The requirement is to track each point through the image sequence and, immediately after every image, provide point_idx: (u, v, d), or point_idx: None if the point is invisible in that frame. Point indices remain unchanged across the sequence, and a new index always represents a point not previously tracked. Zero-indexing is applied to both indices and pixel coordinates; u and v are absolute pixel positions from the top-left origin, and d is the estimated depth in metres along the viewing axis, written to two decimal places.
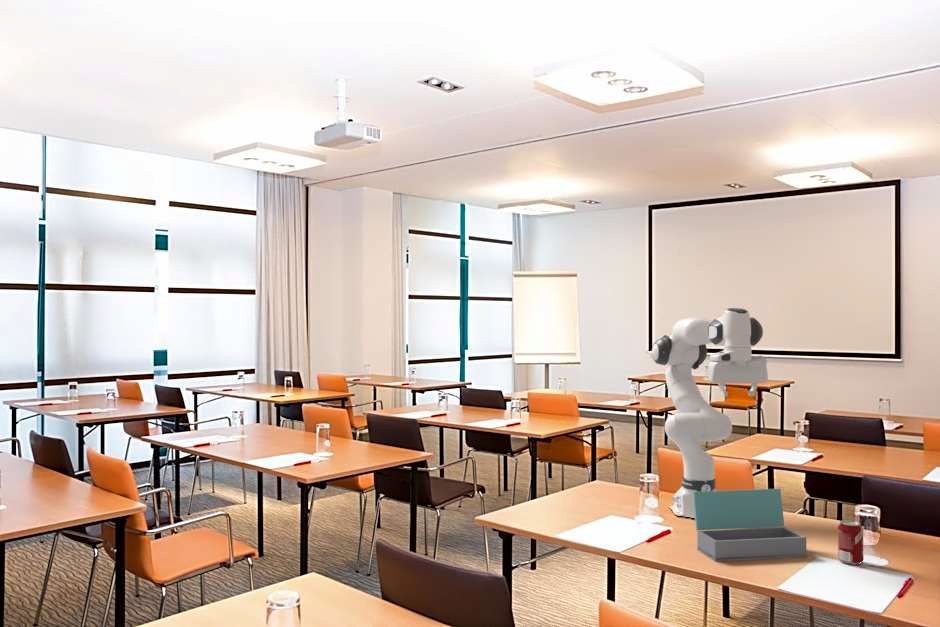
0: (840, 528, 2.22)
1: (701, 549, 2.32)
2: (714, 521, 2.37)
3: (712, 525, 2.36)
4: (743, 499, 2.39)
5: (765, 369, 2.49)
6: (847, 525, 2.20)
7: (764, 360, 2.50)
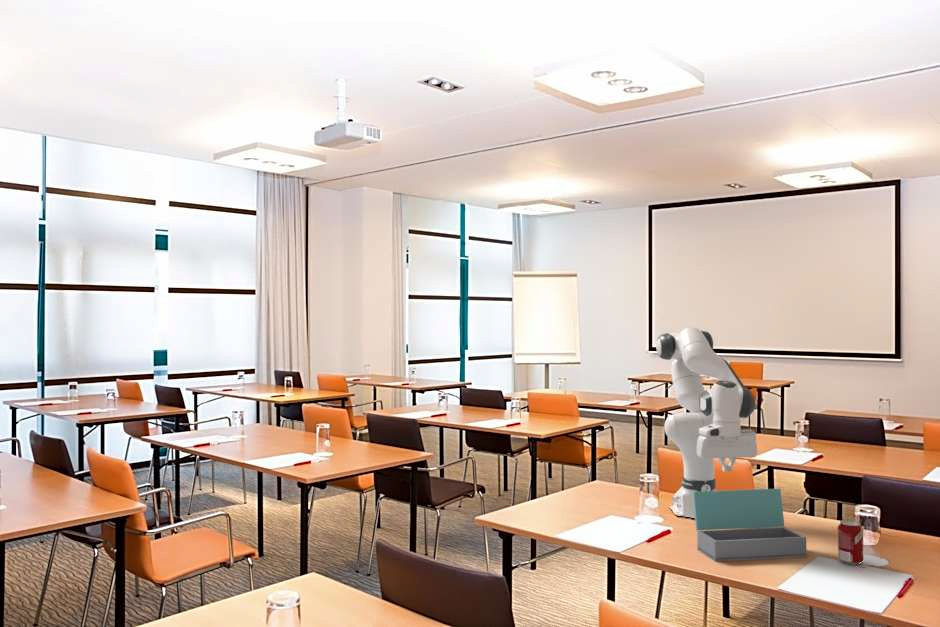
0: (840, 528, 2.22)
1: (701, 549, 2.32)
2: (714, 521, 2.37)
3: (712, 525, 2.36)
4: (743, 499, 2.39)
5: (754, 444, 2.46)
6: (847, 525, 2.20)
7: (753, 434, 2.48)
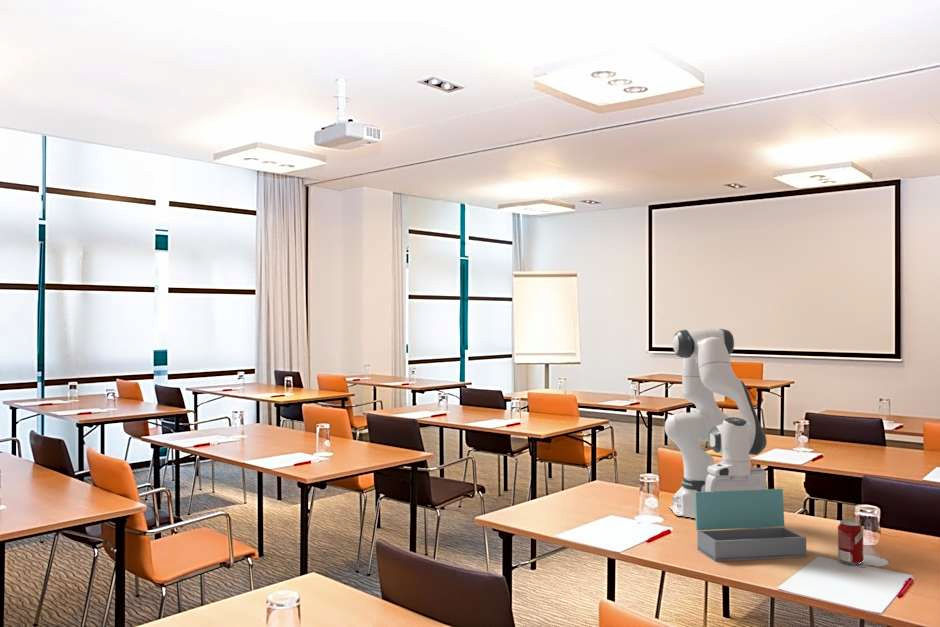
0: (840, 528, 2.22)
1: (701, 549, 2.32)
2: (715, 521, 2.36)
3: (712, 525, 2.36)
4: (745, 499, 2.38)
5: (764, 483, 2.40)
6: (847, 525, 2.20)
7: (764, 472, 2.41)
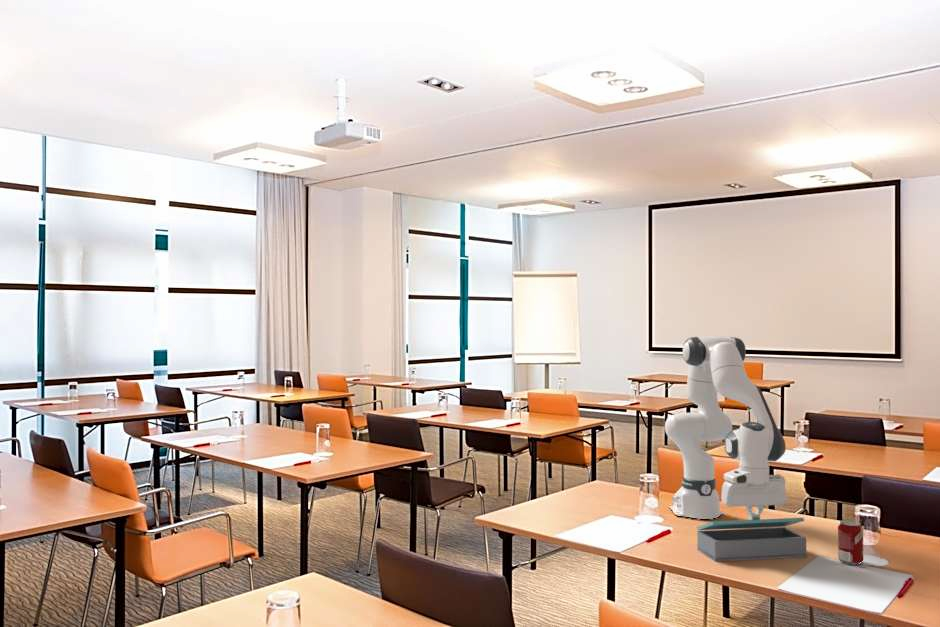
0: (840, 528, 2.22)
1: (701, 549, 2.32)
2: (719, 528, 2.34)
3: (714, 529, 2.35)
4: (760, 524, 2.29)
5: (784, 491, 2.29)
6: (847, 525, 2.20)
7: (783, 479, 2.30)
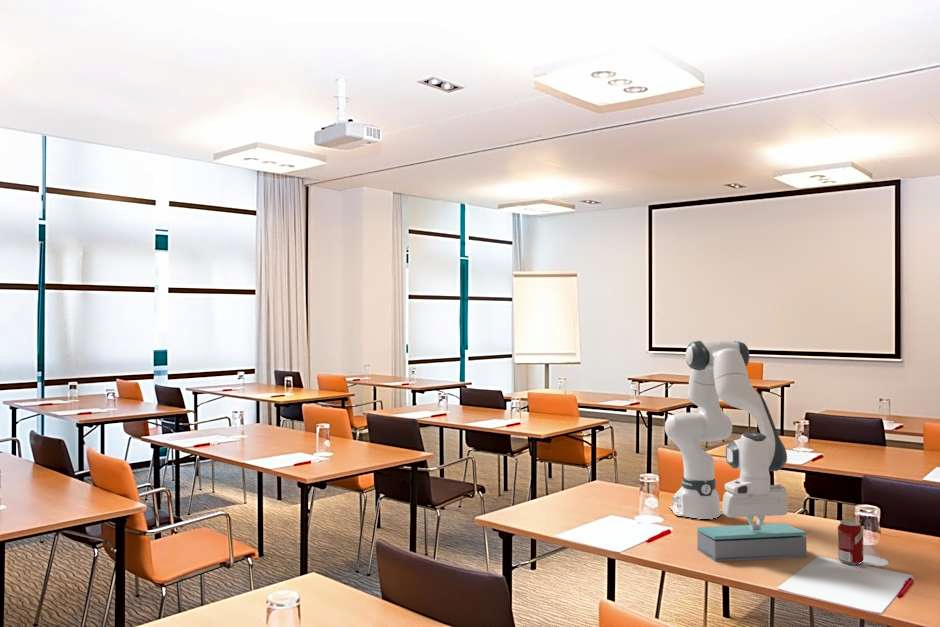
0: (840, 528, 2.22)
1: (701, 549, 2.32)
2: None
3: None
4: None
5: (785, 501, 2.28)
6: (847, 525, 2.20)
7: (784, 490, 2.30)
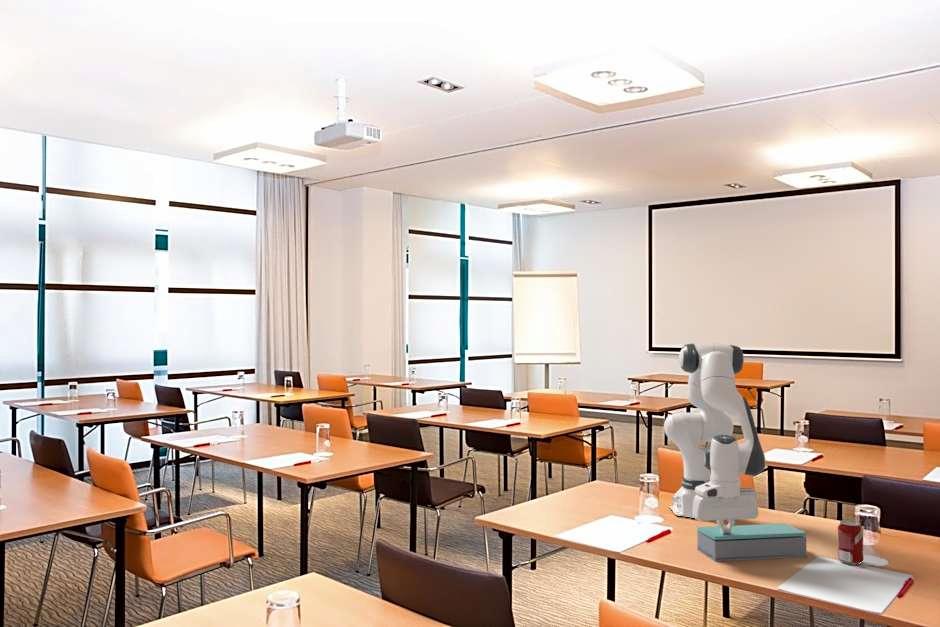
0: (840, 528, 2.22)
1: (701, 549, 2.32)
2: None
3: None
4: None
5: (755, 504, 2.27)
6: (847, 525, 2.20)
7: (754, 493, 2.28)
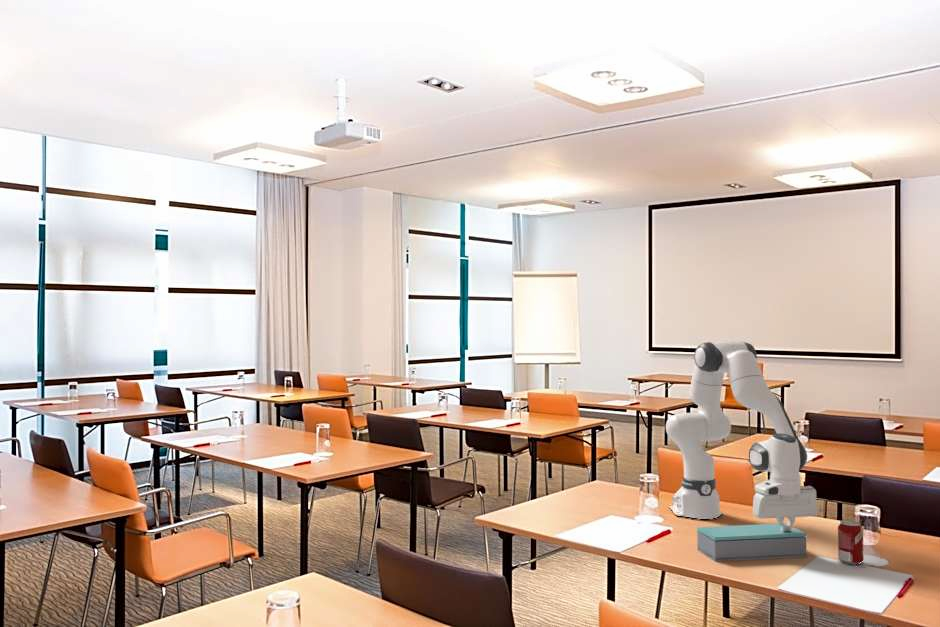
0: (840, 528, 2.22)
1: (701, 549, 2.32)
2: None
3: None
4: None
5: (815, 502, 2.29)
6: (847, 525, 2.20)
7: (814, 491, 2.31)
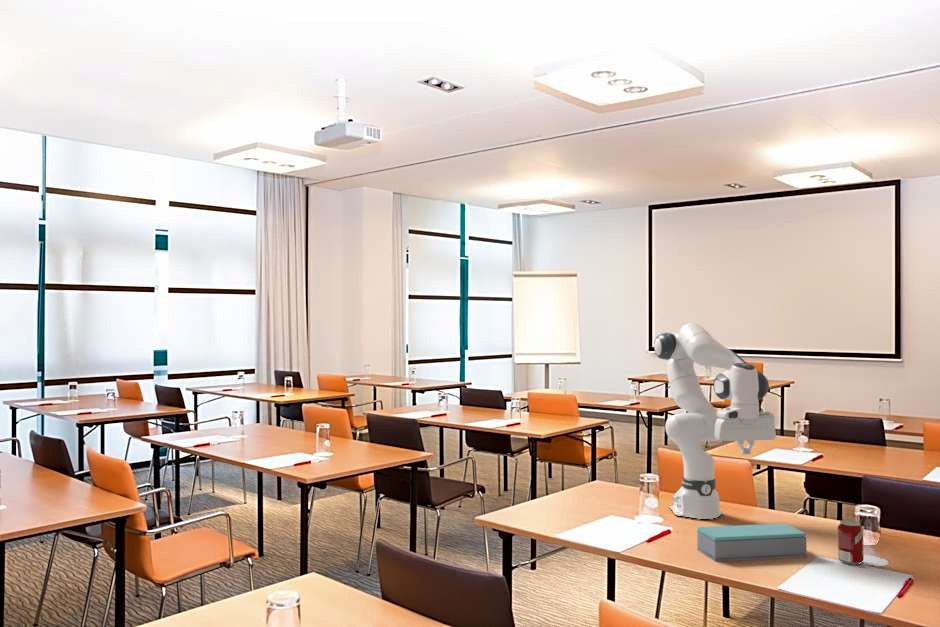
0: (840, 528, 2.22)
1: (701, 549, 2.32)
2: None
3: None
4: None
5: (773, 426, 2.44)
6: (847, 525, 2.20)
7: (772, 416, 2.46)
